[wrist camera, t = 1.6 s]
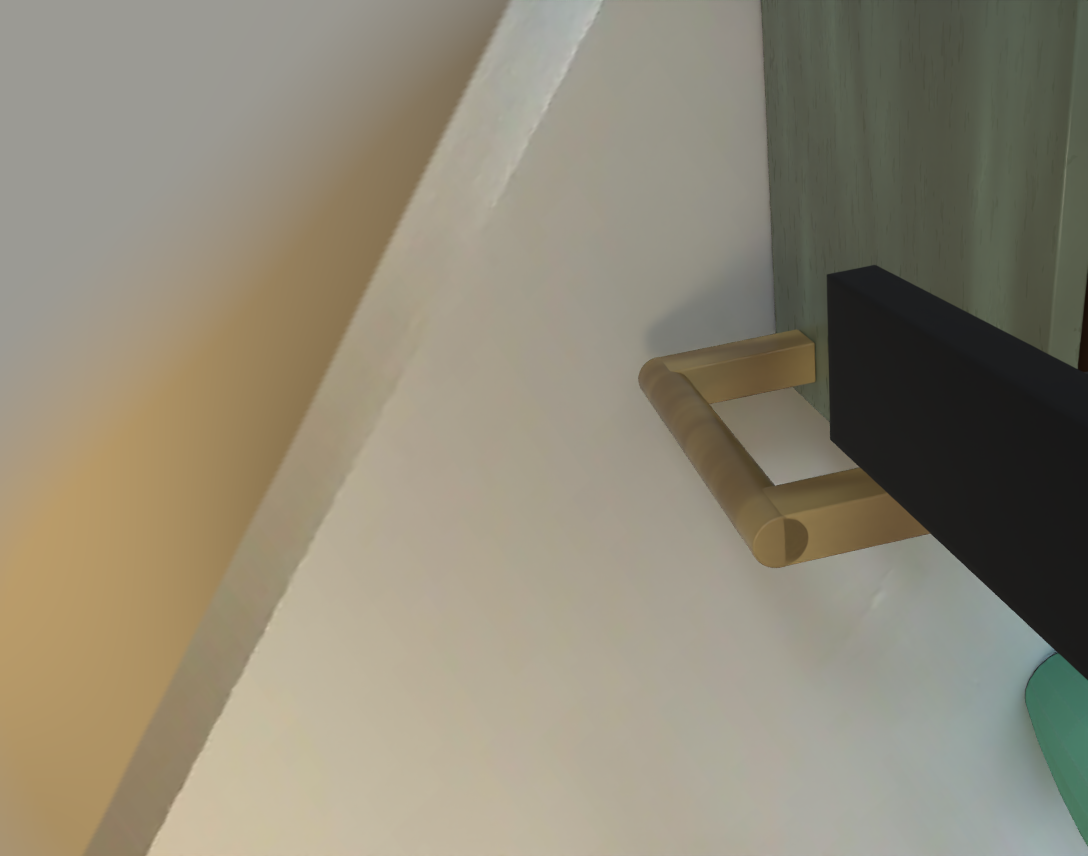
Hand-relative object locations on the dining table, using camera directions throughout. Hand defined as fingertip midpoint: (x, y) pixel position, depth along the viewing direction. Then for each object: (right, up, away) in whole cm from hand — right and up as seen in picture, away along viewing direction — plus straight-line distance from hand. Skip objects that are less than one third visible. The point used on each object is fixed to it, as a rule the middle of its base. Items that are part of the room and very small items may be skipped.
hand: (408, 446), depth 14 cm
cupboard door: (+8, +9, +22) cm, 25 cm away
